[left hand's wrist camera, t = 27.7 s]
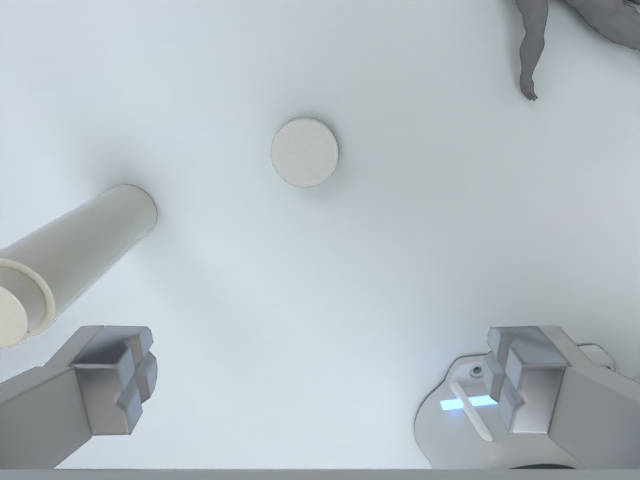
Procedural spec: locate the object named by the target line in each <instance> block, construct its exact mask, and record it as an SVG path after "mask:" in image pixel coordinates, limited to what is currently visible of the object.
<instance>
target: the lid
mask: <svg viewBox="0 0 640 480" xmlns="http://www.w3.org/2000/svg"><path fill="white" fill-rule="evenodd" d="M271 160H272V163H273V166H274V168H275V170H276V172H277V173H278V175H279V176H280V177H281V178H282V179H283V180H285V181H286V182H288V183H290V184H292V185H294V186H298V187H312V186H316V185H318V184H321V183H322V182H324V181H325V180H327V179H328V178H329V177H330V176H331V174H332V173H333V171H334V170H335V168H336V165H337V162H338V146H337V142H336V139H335V136H334V134H333V132H332V131H331V130H330V128H329V127H328V126H327V125H325V124H324V123H323V122H321V121H319V120H317V119H314V118H310V117H300V118H296V119H293V120H291V121H289V122H287V123H286V124H285V125H283V126H282V127H281V129H280V130H279V131H278V133H277V134H276V136H275V138H274V139H273V142H272V146H271Z"/></svg>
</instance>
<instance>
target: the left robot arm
mask: <svg viewBox="0 0 640 480" xmlns="http://www.w3.org/2000/svg"><path fill="white" fill-rule="evenodd" d="M152 344H153V338H152V333H151V330H150V329H149V328H148V327H147V326H104V325H95V326H82V327H80V328H79V329H78V330H77V331H76V332H75V333H74V334H73V335H72V337H71V338H70V339H69V340H68V341H67V342H66V343H65V344H64V345H63V346H62V347H61V348H60V349H59V350H58V351H57V352H56V353H55V354H54V356H53V357H52V358H51V359H50V360H49V361H48V362H47V363H46V364H45V365H44V366H43V367H34V368H32V369H30V370H28V371H26V372H24V373H21V374H19V375H17V376H15V377H13V378H11V379H9V380H6V381H4V382H2V383H0V480H640V383H638V382H636V381H634V380H631V379H629V378H627V377H625V376H623V375H621V374H620V373H619V371H618V369H617V367H616V365H615V363H614V362H613V360H612V359H611V358H610V357H609V355H608V354H607V353H606V352H605V351H604V350H603V349H602V348H600V347H599V346H597V345H583V346H577V345H576V344H575V343H574V342H573V341H572V340H571V339H570V338H569V336H568V335H567V334H566V333H565V332H564V331H563V330H562V329H561V328H560V327H558V326H555V325H546V326H519V327H491V328H490V330H489V333H488V337H487V344H488V345H489V347H490V349H491V351H490V352H489V353H488V354H487V355H480V356H469V357H462V358H459V359H458V360H456V361H455V362H454V363H453V365H452V366H451V368H450V370H449V372H448V374H447V376H446V378H445V380H444V382H443V383H442V384H441V385H440V386H439V387H438V388H437V389H436V390H435V391H434V392H432V393H431V394H430V395H429V396H428V398H427V399H426V400H425V401H424V403H423V404H422V406H421V407H420V409H419V411H418V414H417V416H416V420H415V426H414V432H415V438H416V442H417V444H418V446H419V448H420V450H421V451H422V453H423V454H424V455H425V457H426V458H427V460H428V462H429V463H430V465H431V467H432V469H53V468H55V467H56V466H57V465H58V464H60V463H61V462H62V461H63V460H65V459H66V458H67V457H68V456H70V455H71V454H72V453H73V452H75V451H76V450H77V449H78V448H79V447H81V446H82V445H83V444H84V443H86V442H87V441H88V440H89V439H91V438H92V436H96V435H131V433H132V431H133V429H134V427H135V426H136V424H137V422H138V420H139V418H140V416H141V414H142V412H143V411H142V406H141V404H142V403H143V402H145V401H146V400H148V399H149V398H150V397H151V395H152V393H153V391H154V389H155V384H156V380H157V361H156V357H155V356H154V355H153V354H152V353H151V352H150V351H149V349H150V347H151V345H152ZM476 367H479V368H477V369H474V368H476Z"/></svg>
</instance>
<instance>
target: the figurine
mask: <svg viewBox="0 0 640 480" xmlns="http://www.w3.org/2000/svg"><path fill="white" fill-rule="evenodd" d="M564 1H565V2H566V3H567V4H568V5H569V6H570V7H575V8H576V10H577V12H578V13H580V14H581V15H582V16H583V18H584V19H585V21H586V22H587V23H588V25H590V26H592V27H594V28H595V29H596V30H597V31H598V32H599V33H600V34H602V35H604V36H605V37H607V38H608V39H610V40H611V41H612V42H614V43H618V44H622V45H625V46H628V47H630V48H632V49H636V50H639V51H640V13H639V12H638V11H637V10H636V9H635V8H634V7H632V6H629V5H625V4H624V3H623V0H564ZM629 1H632V2H634V3H636V4H639V5H640V0H629ZM516 3H517V6H518V8H519V10H520V12H521V13H522V15H523V25H524V28H525V30H526V35H525V38H524V40H523V42H522V44H521V47H520V60H521V75H520V87H521V92H523V94H524V96H526V97H527V99H529V100H531V99H532V100H533V101H535V100H536V99H537V98H538V97H537V96H536V95H535V93H534V83H533V80H532V74H533V71H534V68H535V66H536V64H537V62H538V60H539V58H540V55H541V53H542V51H543V48H544V30H545V25H546V20H547V15H548V3H547V0H516ZM533 97H534V98H533ZM535 98H536V99H535Z"/></svg>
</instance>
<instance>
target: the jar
mask: <svg viewBox="0 0 640 480" xmlns="http://www.w3.org/2000/svg"><path fill="white" fill-rule="evenodd" d="M156 221H157V209H156V206H155V204H154V202H153V200H152V199H151V197H150V196H149V195H148V194H147V193H146V192H145V191H143V190H142V189H140V188H138V187H135V186H132V185H118V186H115V187H113V188H111V189H109V190H107V191H105V192H104V193H102V194H100V195H98V196H96V197H95V198H93V199H91V200H89V201H87V202H86V203H84V204H82V205H80V206H78V207H77V208H75V209H73V210H71V211H70V212H68V213H66V214H64V215H62V216H61V217H59V218H57V219H55V220H53V221H52V222H50V223H48V224H46V225H44V226H43V227H41V228H39V229H37V230H35V231H34V232H32V233H30V234H28V235H26V236H25V237H23V238H21V239H19V240H17V241H16V242H14V243H12V244H10V245H9V246H7V247H5V248H3V249H1V250H0V348H2V347H8V348H9V347H12V346H15V345H18V344H19V343H21V342H22V341H24V340H25V339H26V338H27V337H29V336H34V335H36V334H39V333H41V332H43V331H44V330H45V329H47V328H48V327H49V326H50V325H51V324H52V323H53V322H54V321H55V320H56V319H57V318H59V317H60V316H61V315H62V314H63V313H64V312H65V311H66V310H67V309H68V308H69V307H70V306H71V305H72V304H73V303H74V302H76V301H77V300H78V299H79V298H80V297H81V296H82V295H83V294H84V293H85V292H86V291H87V290H88V289H89V288H90V287H92V286H93V285H94V284H95V283H96V282H97V281H98V280H99V279H100V278H101V277H102V276H103V275H104V274H105V273H106V272H107V271H109V270H110V269H111V268H112V267H113V266H114V265H115V264H116V263H117V262H118V261H119V260H120V259H121V258H122V257H123V256H125V255H126V254H127V253H128V252H129V251H130V250H131V249H132V248H133V247H134V246H135V245H136V244H137V243H138V242H139V241H140V240H142V239H143V238H144V237H145V236H146V235H147V234H148V233H149V232H150V231H151V230H152V229H153V227H154V226H155V224H156Z"/></svg>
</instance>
